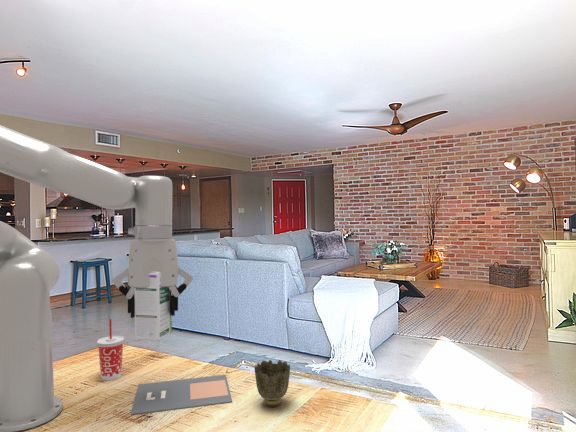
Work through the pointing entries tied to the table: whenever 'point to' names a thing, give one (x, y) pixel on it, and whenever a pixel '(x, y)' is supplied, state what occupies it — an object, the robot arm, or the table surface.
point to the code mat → (181, 394)
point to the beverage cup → (110, 355)
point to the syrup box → (153, 310)
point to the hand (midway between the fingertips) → (153, 314)
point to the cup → (272, 381)
